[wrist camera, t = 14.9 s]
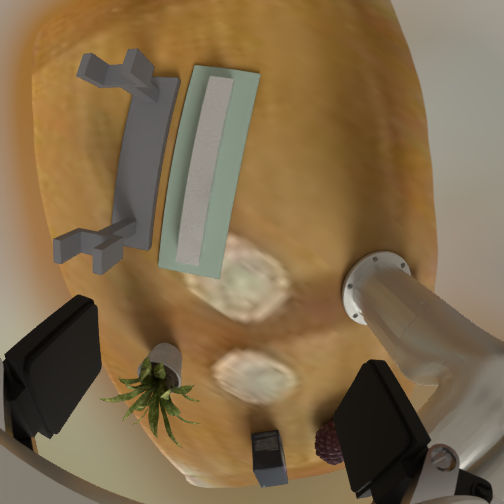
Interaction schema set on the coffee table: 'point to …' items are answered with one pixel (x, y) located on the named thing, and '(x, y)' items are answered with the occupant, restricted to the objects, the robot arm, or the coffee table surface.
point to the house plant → (157, 386)
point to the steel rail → (203, 169)
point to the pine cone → (328, 444)
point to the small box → (269, 459)
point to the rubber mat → (224, 175)
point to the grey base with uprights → (128, 160)
